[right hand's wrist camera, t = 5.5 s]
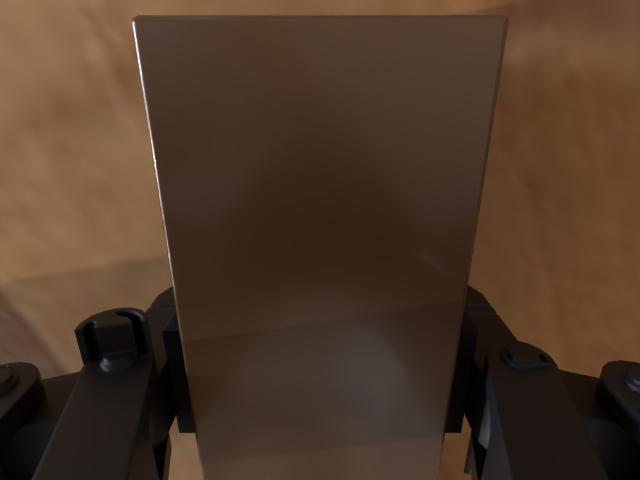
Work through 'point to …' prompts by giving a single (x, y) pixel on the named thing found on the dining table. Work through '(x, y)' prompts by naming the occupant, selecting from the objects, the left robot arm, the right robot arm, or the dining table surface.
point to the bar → (320, 229)
